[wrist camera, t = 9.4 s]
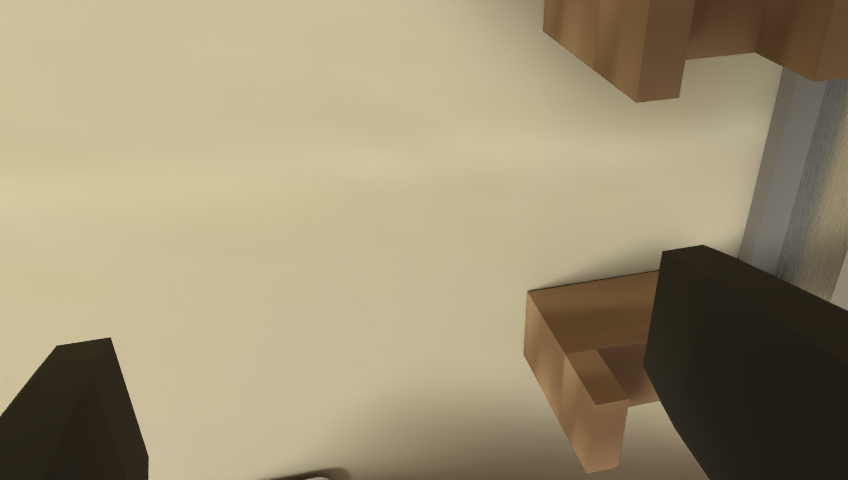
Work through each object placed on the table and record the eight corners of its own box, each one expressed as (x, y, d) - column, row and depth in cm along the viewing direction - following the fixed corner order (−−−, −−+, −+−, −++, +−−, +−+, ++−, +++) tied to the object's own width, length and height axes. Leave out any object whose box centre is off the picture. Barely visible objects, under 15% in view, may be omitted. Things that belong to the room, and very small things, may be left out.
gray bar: (818, 353, 27) (829, 364, 27) (710, 374, 27) (720, 385, 26) (1009, -219, 18) (1032, -219, 17) (850, -214, 17) (869, -213, 17)
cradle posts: (659, 330, 25) (747, 439, 21) (523, 354, 24) (586, 473, 20) (736, -90, 18) (890, -52, 14) (549, -77, 17) (654, -33, 13)
